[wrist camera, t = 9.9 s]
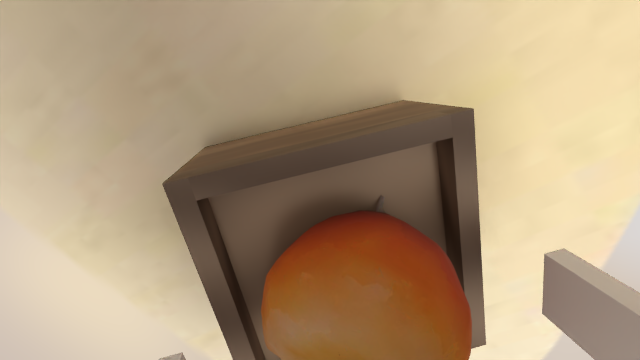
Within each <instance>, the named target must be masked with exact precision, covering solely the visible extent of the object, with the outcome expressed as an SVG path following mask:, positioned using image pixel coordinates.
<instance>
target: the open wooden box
mask: <svg viewBox="0 0 640 360" xmlns="http://www.w3.org/2000/svg"><path fill="white" fill-rule="evenodd" d="M163 187H164V189H165V192H166V194H167V197H168V199H169V202H170V204H171V207H172V209H173V212H174V214H175V217H176V219H177V222H178V224H179V227H180V229H181V231H182V234H183V236H184V239H185V241H186V244H187V246H188V249H189V251H190V254H191V256H192V259H193V261H194V264H195V266H196V269H197V271H198V274H199V276H200V279H201V281H202V283H203V286H204V288H205V291H206V293H207V296H208V298H209V301H210V303H211V306H212V308H213V311H214V313H215V316H216V318H217V321H218V323H219V326H220V328H221V331H222V333H223V335H224V338H225V340H226V343H227V345H228V348H229V350H230V353H231V355H232V358H233V360H281V359H280V358H279V357H278V356H277V355H275V354H274V353H273V352H271V351H270V350H269V349H268V348H267V346H266V344H265V340H264V335H263V326H262V315H261V306H262V299H263V291H264V285H265V280H266V276H267V274H268V272H269V271H270V269H271V268H272V266H273V265H274V263H275V262H276V261H277V259H278V258H279V257H280V256H281V255H282V254H283V253H284V252H285V251H286V249H287V248H288V247H289V246H290V245H291V244H292V243H294V242H295V241H296V240H297V239H298V238H299V237H300V236H301V235H302V234H303V233H305V232H306V231H307V230H308V229H310V228H311V227H313V226H314V225H316V224H317V223H319V222H322V221H324V220H326V219H327V218H329V217H332V216H336V215H341V214H345V213H350V212H355V211H358V210H370V211H375V209H376V206H377V204H378V201H379V198H380V196H381V195H382V197H385V199H384V205H383V209H384V211H385V212H386V213H387V214H389V215H391V216H393V217H395V218H398V219H400V220H402V221H404V222H406V223H408V224H409V225H411V226H412V227H414V228H416V229H417V230H419V231H420V232H421V233H423V234H424V235H426V236H427V237H429V238H430V239H431V240H433V241H434V242H436V243H437V244H438V245H439V246H440V247H441V248H442V249H443V251H444V252H445V253H446V255H447V256H448V257H449V259H450V261H451V263H452V264H453V267H454V269H455V271H456V274H457V276H458V279H459V281H460V284H461V286H462V289H463V291H464V294H465V296H466V298H467V301H468V303H469V306H470V311H471V318H472V343H471V349H472V348H475V347H479V346H482V345H486V336H485V317H484V298H483V279H482V260H481V241H480V222H479V203H478V184H477V165H476V146H475V127H474V109H472V108H463V107H455V106H446V105H438V104H430V103H421V102H413V101H404V100H403V101H399V102H395V103H390V104H386V105H382V106H378V107H374V108H369V109H365V110H361V111H357V112H352V113H348V114H344V115H340V116H335V117H331V118H327V119H323V120H318V121H314V122H310V123H306V124H301V125H297V126H293V127H289V128H285V129H280V130H276V131H272V132H268V133H263V134H259V135H255V136H251V137H246V138H242V139H238V140H234V141H229V142H225V143H221V144H217V145H212V146H208V147H205V148H204V149H202V150H201V151H200V152H199V153H198V154H197V155H195V156H194V157H193V158H192V159H191V160H190V161H188V162H187V163H186V164H185V165H184V166H183V167H181V168H180V169H179V170H178V171H177V172H175V173H174V174H173V175H172V176H171V177H170V178H168V179H167V180H166V181H165V182H164V183H163Z"/></svg>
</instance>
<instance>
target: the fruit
mask: <svg viewBox="0 0 640 360" xmlns="http://www.w3.org/2000/svg"><path fill="white" fill-rule="evenodd" d="M384 199H385V197H382V195H381V196H380V198H379V201H378V204H377V206H376V209H375V211H370V210H358V211H355V212H350V213H345V214H341V215H336V216H332V217H329V218H327V219H326V220H324V221H322V222H319V223H317V224H316V225H314V226H313V227H311V228H310V229H308V230H307V231H306V232H305V233H303V234H302V235H301V236H300V237H299V238H298V239H297V240H296V241H295V242H294V243H292V244H291V245H290V246H289V247H288V248H287V249H286V251H285V252H284V253H283V254H282V255H281V256H280V257H279V258H278V259H277V261H276V262H275V263H274V265H273V266H272V268H271V269H270V271H269V272H268V274H267V276H266V280H265V285H264V291H263V299H262V306H261V315H262V326H263V335H264V340H265V344H266V346H267V348H268V349H269V350H270V351H271V352H273V353H274V354H275V355H277V356H278V357H279V358H280V359H281V360H468V359H469V356H470V353H471V343H472V318H471V311H470V306H469V303H468V301H467V298H466V296H465V294H464V291H463V289H462V286H461V284H460V281H459V279H458V276H457V274H456V271H455V269H454V267H453V264H452V263H451V261H450V259H449V257H448V256H447V255H446V253H445V252H444V251H443V249H442V248H441V247H440V246H439V245H438V244H437V243H436V242H434V241H433V240H431V239H430V238H429V237H427V236H426V235H424V234H423V233H421V232H420V231H419V230H417V229H416V228H414V227H412V226H411V225H409V224H408V223H406V222H404V221H402V220H400V219H398V218H395V217H393V216H391V215H389V214H387V213H386V212H385V211H384V209H383V205H384Z"/></svg>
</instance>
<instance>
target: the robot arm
mask: <svg viewBox="0 0 640 360" xmlns="http://www.w3.org/2000/svg"><path fill="white" fill-rule="evenodd" d="M542 314H543V315H545V316H546V317H547V318H548V319H549V320H550V321H551V322H553V323H554V324H555V325H556V326H557V327H558V328H559V329H561V330H562V331H563V332H564V333H565V334H566V335H567V336H569V337H570V338H571V339H572V340H573V341H574V342H575V343H576V344H578V345H579V346H580V347H581V348H582V349H583V350H585V351H586V352H587V353H588V354H589V355H590V356H591V357H592V358H593V359H595V360H640V293H639V292H637V291H636V290H634V289H632V288H631V287H629V286H627V285H626V284H624V283H622V282H620V281H619V280H617V279H615V278H614V277H612V276H610V275H608V274H607V273H605V272H603V271H602V270H600V269H598V268H597V267H595V266H593V265H591V264H590V263H588V262H586V261H585V260H583V259H581V258H579V257H578V256H576V255H574V254H573V253H571V252H569V251H568V250H566V249H561V250H557V251H553V252H550V253H546V254H544V281H543V308H542ZM159 360H186V359H185V357H184V355H183V353H179V354H175V355H171V356H168V357H164V358H160V359H159Z"/></svg>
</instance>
